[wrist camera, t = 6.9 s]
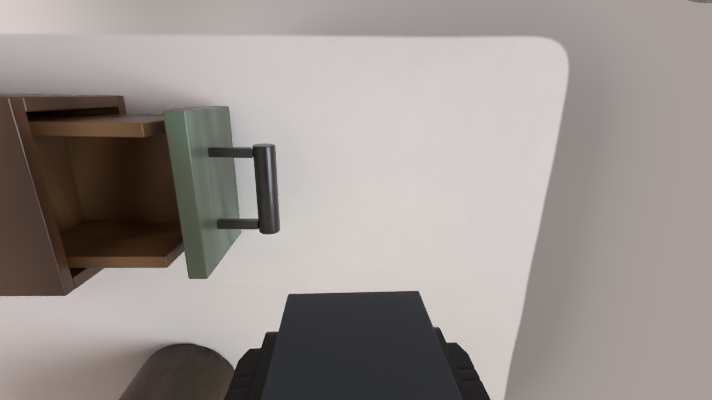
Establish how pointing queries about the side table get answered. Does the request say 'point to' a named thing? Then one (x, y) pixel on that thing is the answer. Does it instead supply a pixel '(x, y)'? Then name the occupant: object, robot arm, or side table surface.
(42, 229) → the cabinet
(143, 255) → the drawer
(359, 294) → the block
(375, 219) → the side table surface
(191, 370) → the pillar candle
